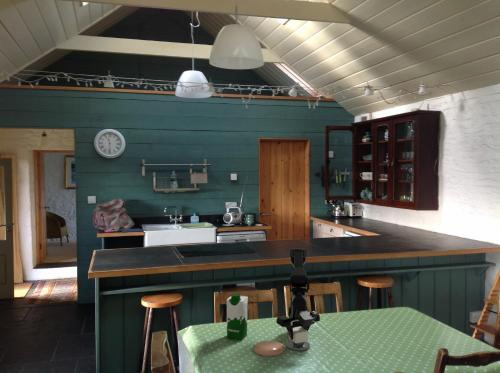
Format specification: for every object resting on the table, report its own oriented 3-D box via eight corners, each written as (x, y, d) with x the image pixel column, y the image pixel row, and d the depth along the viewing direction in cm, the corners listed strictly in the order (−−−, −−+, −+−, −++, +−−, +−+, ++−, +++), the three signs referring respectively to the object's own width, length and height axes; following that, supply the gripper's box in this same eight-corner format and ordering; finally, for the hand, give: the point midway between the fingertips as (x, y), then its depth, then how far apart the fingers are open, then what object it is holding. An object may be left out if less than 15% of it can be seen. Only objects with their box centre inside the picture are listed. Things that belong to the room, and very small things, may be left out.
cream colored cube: (288, 338, 188) (288, 328, 187) (300, 336, 190) (300, 326, 190) (295, 343, 182) (295, 333, 182) (307, 341, 185) (308, 331, 184)
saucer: (248, 346, 186) (248, 343, 186) (275, 341, 191) (275, 339, 191) (261, 358, 174) (262, 355, 174) (290, 353, 180) (290, 350, 179)
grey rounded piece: (282, 344, 189) (282, 329, 188) (302, 340, 193) (302, 326, 193) (293, 353, 180) (294, 337, 179) (314, 349, 184) (314, 334, 184)
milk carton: (224, 339, 193) (224, 295, 192) (231, 332, 202) (232, 289, 201) (242, 342, 191) (243, 297, 190) (249, 334, 199) (249, 291, 198)
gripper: (288, 311, 174) (288, 349, 175) (327, 305, 182) (327, 341, 183) (275, 303, 184) (275, 339, 185) (313, 298, 192) (312, 332, 193)
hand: (298, 338), depth 186 cm, fingers open, 6 cm apart
